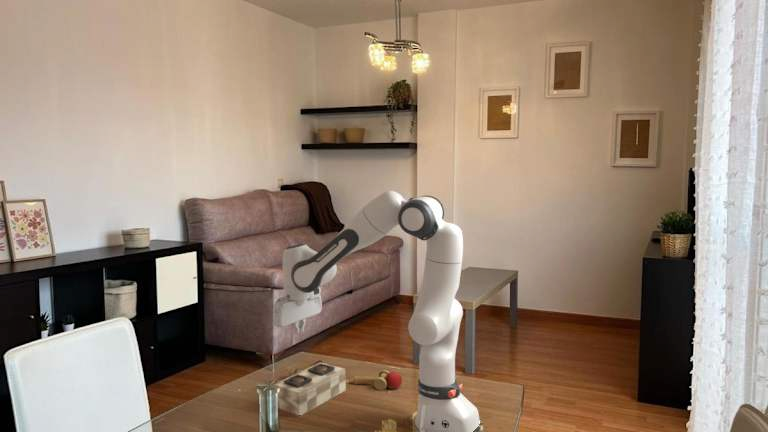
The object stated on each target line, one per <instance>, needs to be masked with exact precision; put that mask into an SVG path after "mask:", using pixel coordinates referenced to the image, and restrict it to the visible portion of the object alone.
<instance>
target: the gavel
mask: <svg viewBox="0 0 768 432" xmlns="http://www.w3.org/2000/svg"><path fill="white" fill-rule="evenodd" d="M320 362H321V363H325V361H324V360H323V359H321V360H320V359H319V360H317V361H316V362H315V363H313V364H311V365H310V366H309V367H311V366H313V365H315V364H317V363H320ZM303 370H304V369H299V368H295V367H294V368H293V367H292V368H290V370H289V374H288V377H290V376H292V375H294V374H296V373H298V372H300V371H303Z"/></svg>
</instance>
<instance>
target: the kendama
mask: <svg viewBox="0 0 768 432" xmlns="http://www.w3.org/2000/svg"><path fill="white" fill-rule="evenodd" d="M353 383H354V385H363V384H373V387H374V388H376V389H377V390H378V391H384V390H386V388H387V387H388V388H389V389H393V390H396V389H399V388H400V387H401V386H402V385H403V377H402V376H401V374H400V373H399V372H397V371H391V372H390V371H388V370H385V369H383V370H381V371H380V372H379V373H378V377H376V376H375V377H374V376H359V375H355V376H353Z"/></svg>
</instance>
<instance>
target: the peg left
mask: <svg viewBox="0 0 768 432" xmlns="http://www.w3.org/2000/svg"><path fill="white" fill-rule="evenodd" d="M302 381H304V378H301V377H298V378H294V379H292V382H295V383H300V382H302Z"/></svg>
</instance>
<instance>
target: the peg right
mask: <svg viewBox="0 0 768 432" xmlns="http://www.w3.org/2000/svg"><path fill="white" fill-rule="evenodd" d="M326 369H327V367H325V366H320V367H317V368H316V370H318V371H324V370H326Z"/></svg>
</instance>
